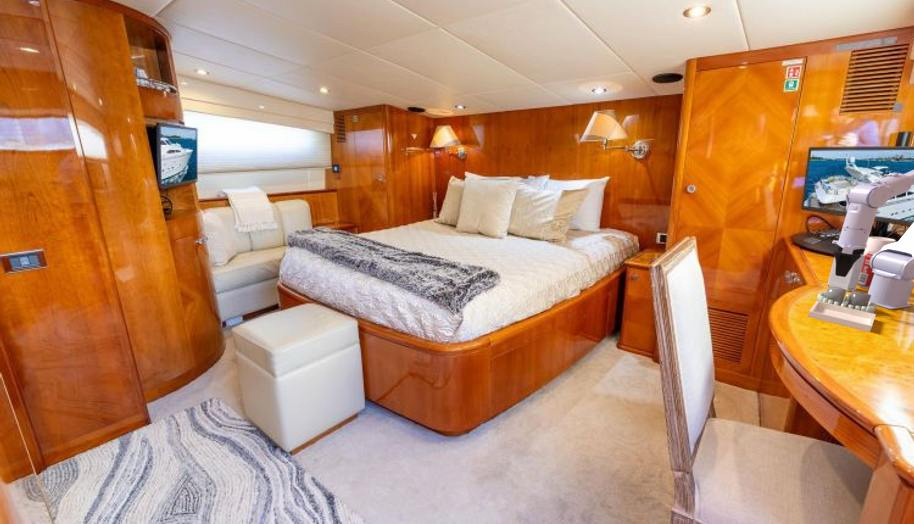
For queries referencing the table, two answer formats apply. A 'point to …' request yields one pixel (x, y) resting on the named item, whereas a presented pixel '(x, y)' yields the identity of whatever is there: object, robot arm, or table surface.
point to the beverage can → (866, 272)
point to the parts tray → (842, 316)
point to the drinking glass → (877, 244)
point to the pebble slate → (835, 294)
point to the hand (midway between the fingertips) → (842, 273)
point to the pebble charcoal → (859, 299)
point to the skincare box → (851, 278)
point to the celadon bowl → (869, 308)
